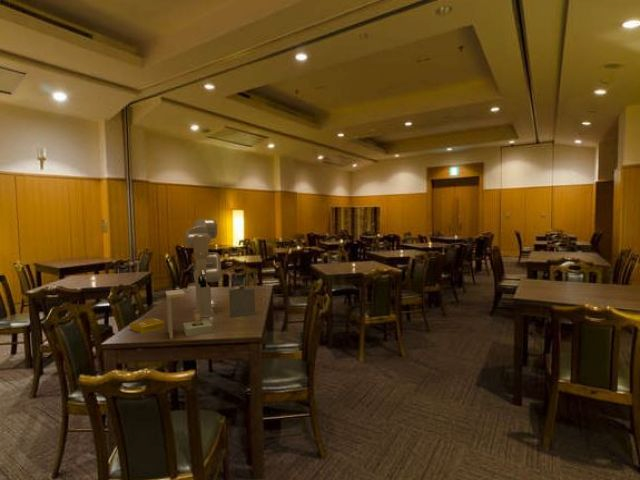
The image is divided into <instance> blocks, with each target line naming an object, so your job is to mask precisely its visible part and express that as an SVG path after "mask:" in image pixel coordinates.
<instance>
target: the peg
mask: <svg viewBox="0 0 640 480" xmlns="http://www.w3.org/2000/svg"><path fill="white" fill-rule="evenodd" d="M192 315H193V322H194V326H199V325H201V321H202V318H201V310H197V309H194V310H193V313H192Z"/></svg>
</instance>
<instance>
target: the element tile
mask: <svg viewBox="0 0 640 480" xmlns="http://www.w3.org/2000/svg"><path fill="white" fill-rule="evenodd" d="M163 329H165V321H164V320H162V319H159V318H155V317H151V318H146V319H141V320H136V321H132V322H130V323H129V330H130V331H131V332H134V333H136V334H139V333H142V334H146V333H150V332H154V331H159V330H163Z"/></svg>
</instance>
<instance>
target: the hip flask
mask: <svg viewBox="0 0 640 480" xmlns="http://www.w3.org/2000/svg"><path fill="white" fill-rule="evenodd" d="M228 293H229V317H230V318H241V317H240V316H243V317H250V316H251V315H253V316H256V305H255V304H256V302H255V288H254V287H250V288H245V285H244V284H241V285H238V287H237V288H233V289H229V291H228ZM251 317H252V316H251Z"/></svg>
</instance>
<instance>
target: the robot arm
mask: <svg viewBox="0 0 640 480" xmlns="http://www.w3.org/2000/svg"><path fill="white" fill-rule="evenodd" d="M217 237H218V224H217V221H216V220H215V219H213V218H207V219H205V218H203V219H197V220H194V223H193V227H192V228H189V229H188V230H186V231H185V235H184V243H185V245H186V246H187V247H193V260H195V270H194V271H193V279H194V285H195V301H196V302H195V303H196V310H201V319H203V318H210V317H214V316H215V312H214V311H213V310H212V309H213V308H212V307H213V306H212V289H211V286H210V285H209V284H208V283H211V282H212V283H213V282H215V283H216V282H219V281H221V280H222V262H221V261H222V260H221V255H220V254H219V253H218V252H215V251H214V252H213V251H212V252H211V251H210V252H209V245H210V243H211V241H212V240H214V239H216V238H217Z"/></svg>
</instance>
